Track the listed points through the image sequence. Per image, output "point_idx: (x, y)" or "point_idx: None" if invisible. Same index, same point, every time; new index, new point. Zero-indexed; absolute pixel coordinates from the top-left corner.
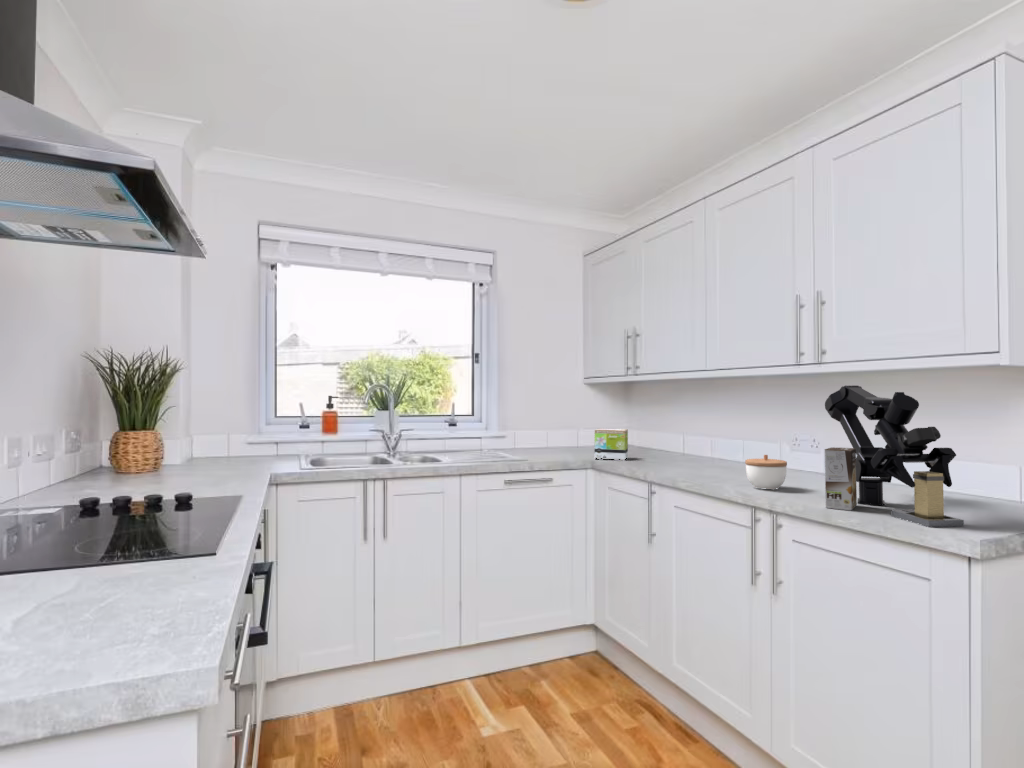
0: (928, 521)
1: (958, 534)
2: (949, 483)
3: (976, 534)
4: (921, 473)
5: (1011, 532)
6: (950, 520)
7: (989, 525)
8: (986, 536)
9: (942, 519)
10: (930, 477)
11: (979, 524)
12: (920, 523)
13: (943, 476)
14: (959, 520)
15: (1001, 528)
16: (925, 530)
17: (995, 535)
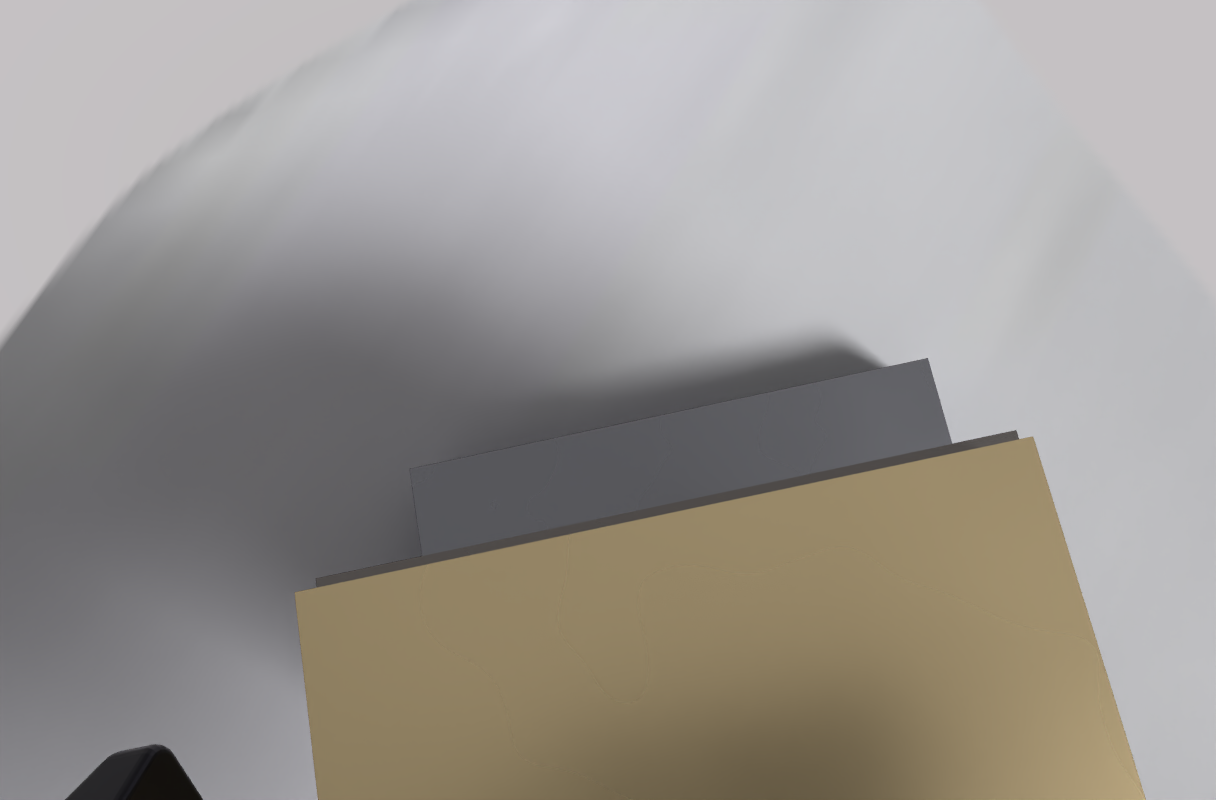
0: (926, 368)
1: (756, 62)
2: (155, 782)
3: (555, 94)
4: (1126, 753)
5: (110, 249)
6: (601, 430)
7: (72, 596)
8: (509, 23)
9: (681, 472)
10: (860, 472)
11: (151, 644)
12: None
13: (338, 579)
14: (471, 457)
15: (61, 439)
16: (1044, 201)
17: (383, 82)
